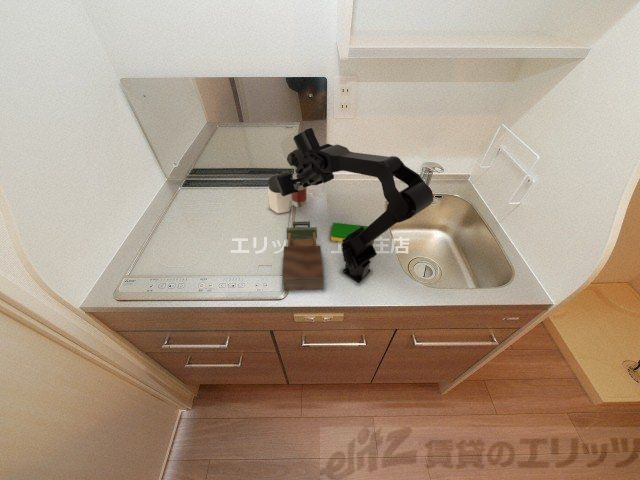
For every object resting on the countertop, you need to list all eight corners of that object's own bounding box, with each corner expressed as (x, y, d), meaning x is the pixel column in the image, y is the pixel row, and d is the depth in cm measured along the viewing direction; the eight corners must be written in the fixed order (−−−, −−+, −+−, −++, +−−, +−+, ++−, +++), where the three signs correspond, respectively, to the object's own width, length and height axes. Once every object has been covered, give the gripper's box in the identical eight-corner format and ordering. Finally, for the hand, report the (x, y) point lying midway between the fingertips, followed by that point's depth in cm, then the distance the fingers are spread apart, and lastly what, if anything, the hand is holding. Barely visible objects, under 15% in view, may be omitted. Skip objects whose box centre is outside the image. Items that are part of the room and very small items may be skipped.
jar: (288, 215, 103) (286, 189, 94) (267, 212, 104) (264, 186, 95) (294, 201, 109) (293, 175, 100) (274, 198, 110) (272, 172, 101)
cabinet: (284, 258, 88) (283, 246, 83) (319, 257, 89) (320, 245, 84) (283, 290, 79) (282, 278, 75) (322, 289, 80) (323, 277, 76)
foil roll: (309, 201, 97) (309, 177, 90) (300, 209, 94) (299, 184, 87) (298, 196, 99) (297, 172, 92) (288, 203, 96) (287, 179, 89)
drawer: (287, 228, 97) (286, 219, 94) (315, 227, 97) (315, 218, 94) (286, 261, 86) (285, 252, 83) (318, 260, 86) (318, 252, 83)
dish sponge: (370, 245, 94) (371, 240, 92) (331, 240, 94) (331, 235, 93) (370, 231, 98) (371, 226, 97) (332, 227, 99) (333, 222, 97)
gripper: (330, 137, 82) (310, 156, 96) (275, 152, 74) (262, 170, 88) (343, 172, 82) (322, 185, 97) (290, 190, 75) (275, 202, 89)
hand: (296, 185), depth 93 cm, fingers closed on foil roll, 5 cm apart
